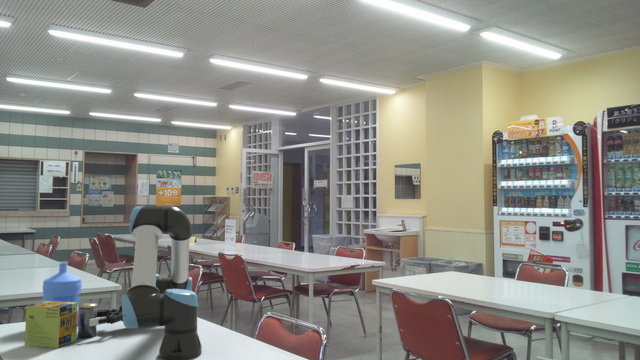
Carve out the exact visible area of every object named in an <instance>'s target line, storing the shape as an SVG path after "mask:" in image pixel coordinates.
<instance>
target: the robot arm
mask: <svg viewBox="0 0 640 360" xmlns="http://www.w3.org/2000/svg"><path fill="white" fill-rule="evenodd" d="M128 227H129V228H128V230H129V232H128V233H130V234H131V235H132V237H133V238H134V240H135V247H134V248H135V249H134V258H133V268H132V279H131V286H130V287H129V288H128V289H127V290H126V293H125V294H124V295H122V296H121V305H120V306H119V308H118V309H117V308H109V309H108V308H107V309H97V318H94V319H89V326H95V325H97V326H101V325H104V324H111V325H113V324H115V323H119V322H123V326H124V327H125V328H127V329H141V328H142V329H144V328H156V327H157V328H158V327H164V331H163V332H164V334H163V337H162V339H161V342H160V347H159V349H158V357H159V358H161V359H164V360H188V359H192V358H196V357H199V356H200V355H201V354H202V351H203V349H202V348H203V347H202V344H201V340H200V336H199V333H198V307H199V302H198V295H197V293H196V292H194V291H193V278H192V277H191V276H189V263H190V261H189V260H190V259H189V258H190V239H191V238H192V236H193V226H192V222H191V221H190V219H189V216H188V215H187V214H186V213H185V212H184V211H183V210H181V209H180V208H178V207H176V206H172V205H168V206H167V205H165V206H164V205H163V206H161V205H154V206H153V205H139V206H138V205H137V206H134V208H133V209H132V210H131V214H130V217H129V226H128ZM164 234H168V236H169V238H170V239H171V258H170V259H171V260H170V261H171V266H170V267H171V268H170V269H171V270H170V272H171V273H170V274H171V277H161V275H160V274H159V273H157V270H158V269H157V267H158V253H159V251H158V250H159V249H158V247H159V240H160V239H162V237H163V235H164ZM77 321H78V314H77Z"/></svg>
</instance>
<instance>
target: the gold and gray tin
mask: <svg viewBox="0 0 640 360" xmlns="http://www.w3.org/2000/svg"><path fill="white" fill-rule="evenodd" d="M78 308H79V309H78V326H77V338H78V339H80V340H81V339H82V340H83V339H84V340H85V339H86V340H87V339H93V338H95V337H97V326H98V325H95V326H89V319H94V318H98V317H97V310H98V303H96V302H95V303H94V302H88V303H85V302H84V303H81V304H78Z"/></svg>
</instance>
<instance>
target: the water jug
mask: <svg viewBox="0 0 640 360" xmlns="http://www.w3.org/2000/svg"><path fill="white" fill-rule="evenodd" d="M58 265H59V268H58V270H59V271H58V273H56V274H54V275H52V276H50V277H48V278H45V279H44V280H43V282H42V283H43V284H42V302H44V301H56V302H78V304H77V314H78V309H79V308H78V305H79V295H80V294H82V287H83V286H82V278H81V277H80V276H78V275H77V276H76V275H74V274H71V273H69V272H68V271H67V270H68V263H67V262H61V263H58ZM77 327H78V321H77Z"/></svg>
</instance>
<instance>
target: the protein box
mask: <svg viewBox="0 0 640 360" xmlns="http://www.w3.org/2000/svg"><path fill="white" fill-rule="evenodd" d="M77 304H78V305H79V301H78V302H56V301H44V302H43V301H41V302H37V303H32V304H28V305H26V306H25V326H24V327H25V329H24V330H25V331H24V346H26V347H36V348H37V347H39V348H40V347H41V348H53V349H59V348H62V347H65V346H67V345H69V344H72V343H75V342H77V340H78V339H77V338H78V326H77Z"/></svg>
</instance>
